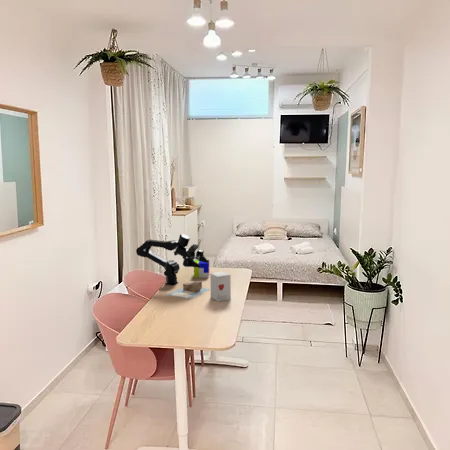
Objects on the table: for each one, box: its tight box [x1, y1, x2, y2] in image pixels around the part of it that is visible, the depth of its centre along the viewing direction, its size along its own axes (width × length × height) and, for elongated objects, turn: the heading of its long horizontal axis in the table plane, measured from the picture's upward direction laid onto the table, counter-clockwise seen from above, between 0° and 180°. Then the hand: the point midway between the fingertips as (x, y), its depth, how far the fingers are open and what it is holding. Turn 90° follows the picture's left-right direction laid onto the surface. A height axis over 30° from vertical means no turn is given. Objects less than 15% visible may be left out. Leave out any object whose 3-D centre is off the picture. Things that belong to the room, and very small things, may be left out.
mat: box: [166, 287, 211, 300], centre depth 265 cm, size 18×22×1 cm
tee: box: [182, 280, 203, 293], centre depth 270 cm, size 10×10×4 cm
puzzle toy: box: [193, 259, 210, 279], centre depth 302 cm, size 10×10×10 cm
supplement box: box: [209, 271, 232, 303], centre depth 250 cm, size 9×9×15 cm
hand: (204, 264), depth 270 cm, fingers open, 9 cm apart
